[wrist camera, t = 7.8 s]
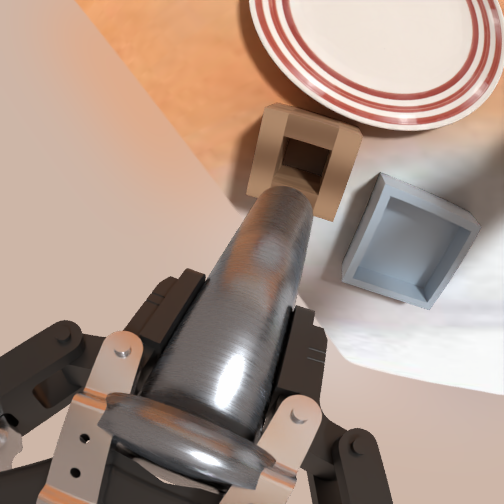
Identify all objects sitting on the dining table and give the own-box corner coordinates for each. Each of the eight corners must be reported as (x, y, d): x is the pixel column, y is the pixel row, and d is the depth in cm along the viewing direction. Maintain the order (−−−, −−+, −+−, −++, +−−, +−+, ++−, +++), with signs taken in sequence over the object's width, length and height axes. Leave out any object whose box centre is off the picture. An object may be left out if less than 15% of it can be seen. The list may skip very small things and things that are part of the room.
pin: (252, 164, 17) (62, 395, 5) (336, 189, 16) (298, 492, 4) (236, 235, 20) (109, 453, 8) (310, 258, 19) (248, 507, 7)
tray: (380, 172, 30) (385, 183, 27) (469, 211, 29) (481, 227, 26) (342, 263, 38) (341, 281, 35) (424, 290, 37) (429, 310, 33)
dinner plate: (471, 160, 26) (482, 168, 23) (241, 96, 30) (231, 98, 27) (497, -31, 10) (508, -37, 8) (270, -95, 14) (264, -107, 12)
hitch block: (277, 102, 29) (264, 107, 24) (357, 126, 28) (362, 136, 23) (259, 176, 34) (245, 194, 30) (333, 199, 34) (332, 221, 29)
